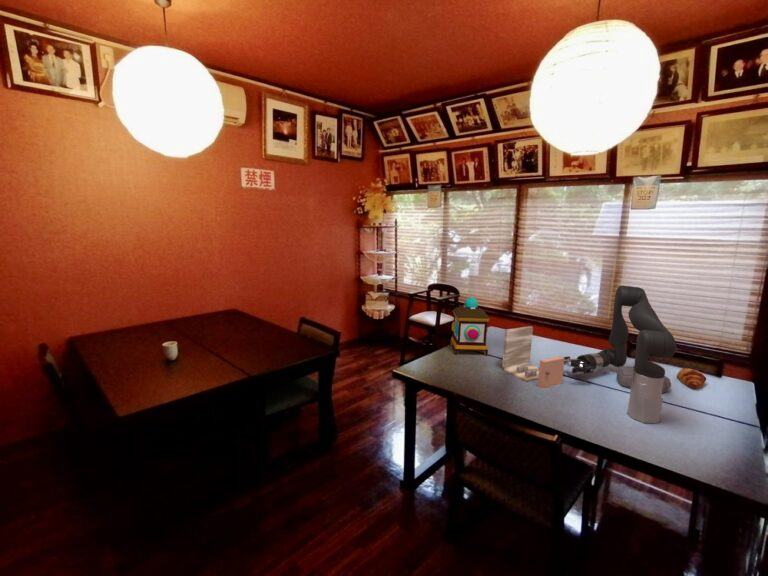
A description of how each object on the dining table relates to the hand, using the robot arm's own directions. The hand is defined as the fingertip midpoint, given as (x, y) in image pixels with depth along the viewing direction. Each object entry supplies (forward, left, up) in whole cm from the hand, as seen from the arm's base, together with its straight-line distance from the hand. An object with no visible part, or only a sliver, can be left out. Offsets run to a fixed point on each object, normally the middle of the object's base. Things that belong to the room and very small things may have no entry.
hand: (564, 367), depth 167 cm
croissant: (-2, -59, -8) cm, 60 cm away
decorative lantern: (+42, +31, -7) cm, 53 cm away
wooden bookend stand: (+10, +12, -7) cm, 17 cm away
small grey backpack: (-5, -34, -7) cm, 35 cm away
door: (-3, +8, -7) cm, 11 cm away
